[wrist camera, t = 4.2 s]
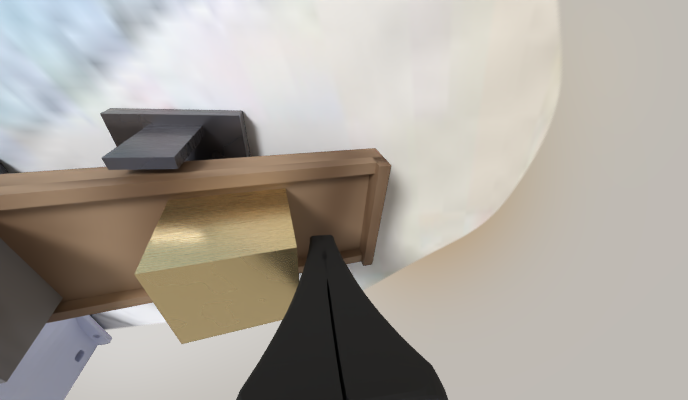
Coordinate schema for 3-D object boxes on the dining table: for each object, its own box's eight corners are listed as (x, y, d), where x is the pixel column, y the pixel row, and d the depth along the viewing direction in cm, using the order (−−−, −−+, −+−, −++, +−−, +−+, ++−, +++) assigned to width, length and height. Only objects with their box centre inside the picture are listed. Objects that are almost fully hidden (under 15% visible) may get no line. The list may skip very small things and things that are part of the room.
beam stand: (52, 259, 16) (-13, 322, 13) (-94, 104, 11) (-280, 145, 7) (266, 246, 19) (258, 297, 15) (242, 110, 13) (221, 144, 9)
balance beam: (-43, 313, 12) (-167, 437, 8) (-238, 190, 8) (-642, 336, 4) (361, 242, 18) (388, 299, 14) (375, 148, 13) (419, 196, 10)
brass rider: (197, 268, 13) (181, 343, 10) (168, 200, 11) (134, 274, 8) (291, 252, 15) (301, 315, 12) (285, 188, 12) (296, 247, 9)
